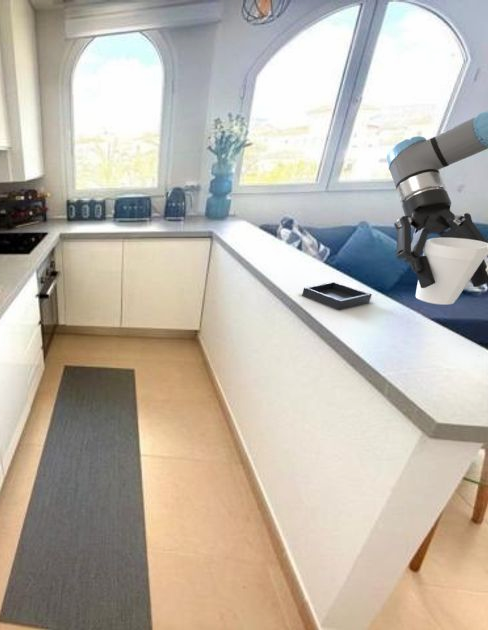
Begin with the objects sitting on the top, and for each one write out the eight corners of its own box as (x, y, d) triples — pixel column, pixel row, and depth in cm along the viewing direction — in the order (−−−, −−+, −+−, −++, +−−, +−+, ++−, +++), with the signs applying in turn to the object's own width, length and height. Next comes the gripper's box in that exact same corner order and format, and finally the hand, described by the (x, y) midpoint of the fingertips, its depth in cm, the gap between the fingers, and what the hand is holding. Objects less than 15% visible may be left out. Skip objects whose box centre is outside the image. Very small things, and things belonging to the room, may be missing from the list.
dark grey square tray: (369, 302, 104) (372, 294, 102) (338, 309, 101) (340, 301, 100) (330, 289, 114) (333, 281, 113) (301, 295, 111) (303, 287, 110)
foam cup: (433, 289, 82) (455, 236, 77) (477, 305, 74) (505, 246, 69) (395, 293, 82) (414, 239, 77) (435, 309, 74) (460, 250, 68)
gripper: (462, 205, 83) (496, 290, 75) (360, 210, 86) (384, 292, 78) (494, 183, 76) (535, 275, 68) (382, 190, 79) (410, 278, 71)
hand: (454, 284), depth 73 cm, fingers closed on foam cup, 9 cm apart
